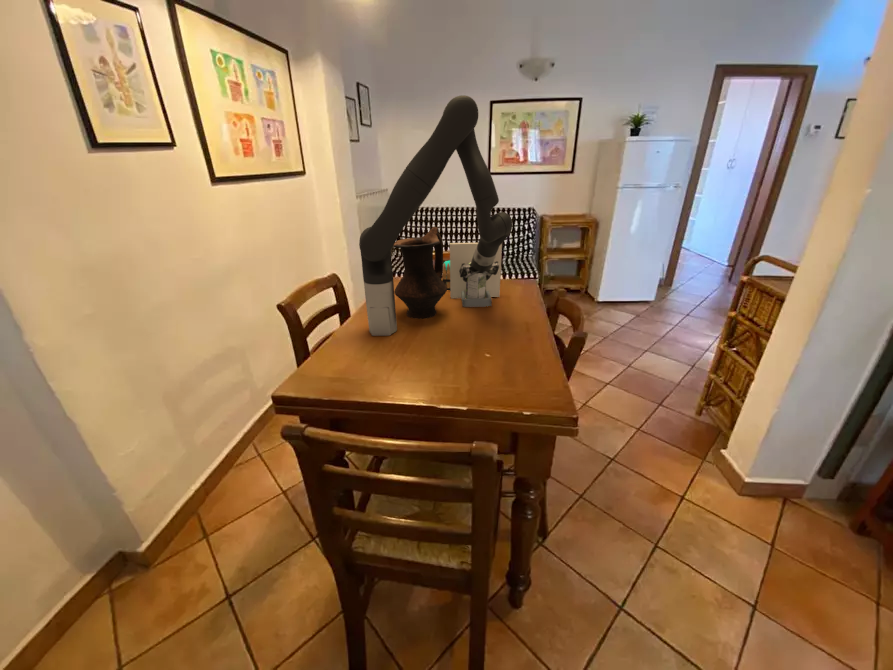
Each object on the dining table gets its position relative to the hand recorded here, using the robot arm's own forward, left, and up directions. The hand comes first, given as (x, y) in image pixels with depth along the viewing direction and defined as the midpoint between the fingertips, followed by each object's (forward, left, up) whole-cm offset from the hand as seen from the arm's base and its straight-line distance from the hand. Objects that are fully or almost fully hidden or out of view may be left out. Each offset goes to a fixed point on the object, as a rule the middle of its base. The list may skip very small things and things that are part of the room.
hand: (475, 279), depth 145 cm
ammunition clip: (+14, +8, -9) cm, 18 cm away
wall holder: (-1, 0, -9) cm, 9 cm away
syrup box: (-1, 0, -8) cm, 8 cm away
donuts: (+24, +8, -9) cm, 27 cm away
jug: (-13, +20, -9) cm, 26 cm away
